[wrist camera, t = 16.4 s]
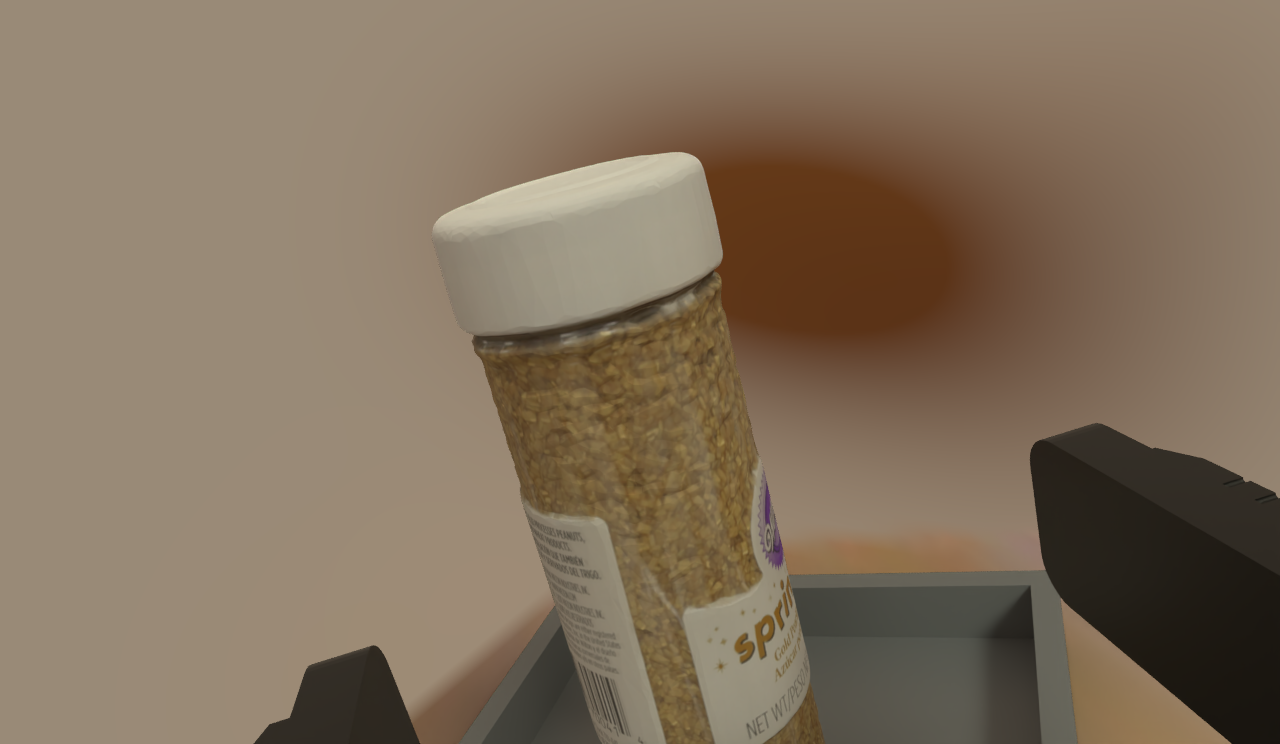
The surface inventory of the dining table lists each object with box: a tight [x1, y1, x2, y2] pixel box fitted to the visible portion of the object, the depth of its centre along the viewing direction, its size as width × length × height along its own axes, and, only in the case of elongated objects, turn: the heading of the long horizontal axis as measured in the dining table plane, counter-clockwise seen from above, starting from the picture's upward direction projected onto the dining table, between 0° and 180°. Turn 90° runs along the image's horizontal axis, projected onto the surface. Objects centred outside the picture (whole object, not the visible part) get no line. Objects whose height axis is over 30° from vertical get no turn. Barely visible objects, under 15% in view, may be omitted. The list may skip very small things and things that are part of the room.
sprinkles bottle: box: [432, 152, 825, 744], centre depth 17 cm, size 5×5×13 cm
